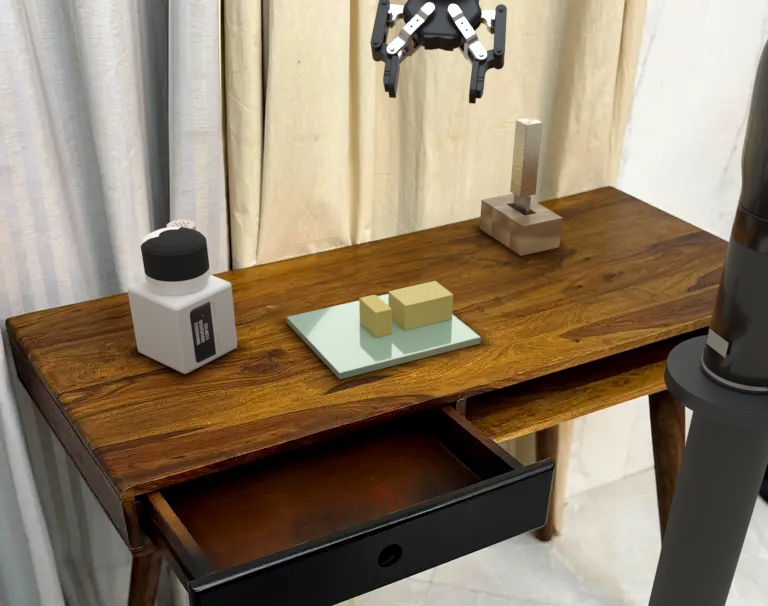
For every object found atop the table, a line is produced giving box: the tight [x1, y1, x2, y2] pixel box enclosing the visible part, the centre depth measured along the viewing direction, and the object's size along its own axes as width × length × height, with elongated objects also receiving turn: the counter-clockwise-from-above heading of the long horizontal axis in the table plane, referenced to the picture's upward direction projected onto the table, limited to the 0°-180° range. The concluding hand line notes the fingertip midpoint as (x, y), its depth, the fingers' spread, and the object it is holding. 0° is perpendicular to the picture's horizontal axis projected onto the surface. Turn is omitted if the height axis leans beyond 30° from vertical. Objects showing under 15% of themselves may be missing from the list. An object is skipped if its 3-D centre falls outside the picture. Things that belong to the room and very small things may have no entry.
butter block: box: [388, 280, 454, 330], centre depth 109 cm, size 4×6×3 cm, turn 117°
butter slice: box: [358, 294, 392, 337], centre depth 107 cm, size 4×2×3 cm, turn 27°
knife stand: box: [479, 193, 564, 257], centre depth 129 cm, size 10×6×4 cm, turn 27°
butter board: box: [286, 293, 482, 380], centre depth 109 cm, size 14×17×1 cm
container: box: [127, 226, 238, 375], centre depth 102 cm, size 8×8×13 cm
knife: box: [509, 117, 544, 216], centre depth 125 cm, size 3×2×15 cm
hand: (432, 96), depth 104 cm, fingers open, 8 cm apart
